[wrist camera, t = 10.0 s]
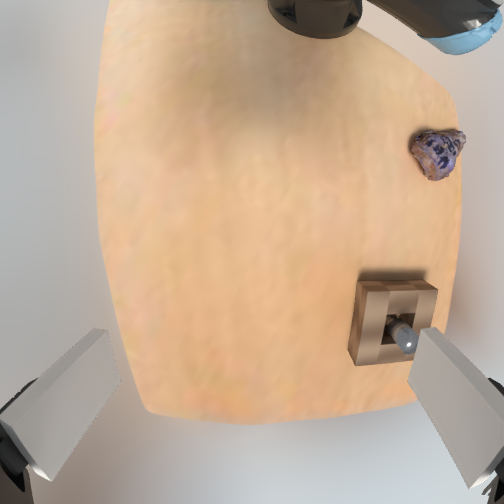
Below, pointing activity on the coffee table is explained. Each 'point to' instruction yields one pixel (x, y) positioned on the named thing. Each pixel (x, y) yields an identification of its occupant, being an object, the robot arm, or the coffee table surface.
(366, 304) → the socket block
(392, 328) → the pin
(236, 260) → the coffee table surface
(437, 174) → the purple lumpy piece
